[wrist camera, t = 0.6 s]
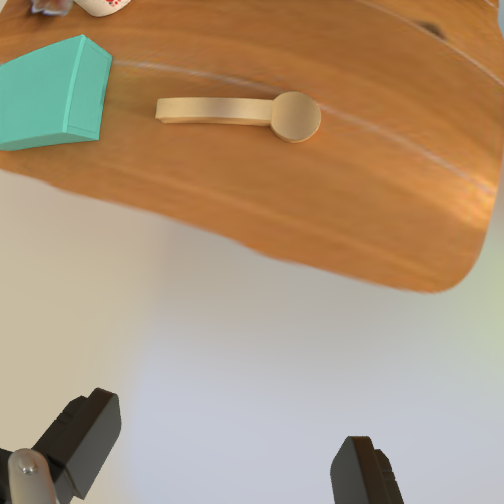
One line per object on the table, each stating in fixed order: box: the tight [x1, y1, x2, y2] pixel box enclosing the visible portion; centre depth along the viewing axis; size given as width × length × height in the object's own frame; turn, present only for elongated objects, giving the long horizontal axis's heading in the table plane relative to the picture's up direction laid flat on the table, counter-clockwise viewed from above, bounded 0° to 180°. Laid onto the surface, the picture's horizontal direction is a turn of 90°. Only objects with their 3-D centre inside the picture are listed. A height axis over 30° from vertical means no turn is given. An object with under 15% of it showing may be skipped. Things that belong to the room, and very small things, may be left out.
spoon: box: [155, 91, 321, 143], centre depth 29 cm, size 17×5×3 cm, turn 85°
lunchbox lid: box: [0, 35, 86, 144], centre depth 23 cm, size 18×12×1 cm, turn 85°
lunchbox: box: [0, 37, 113, 151], centre depth 27 cm, size 18×12×7 cm, turn 85°
